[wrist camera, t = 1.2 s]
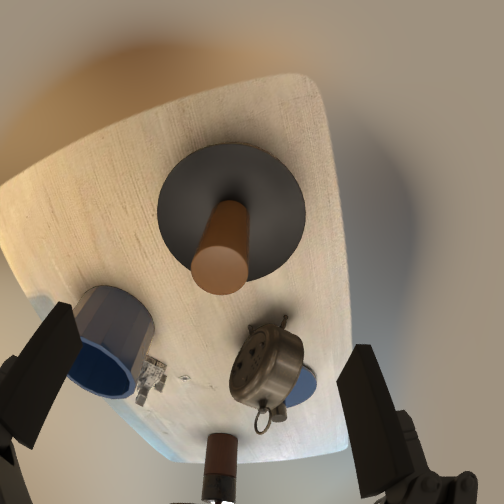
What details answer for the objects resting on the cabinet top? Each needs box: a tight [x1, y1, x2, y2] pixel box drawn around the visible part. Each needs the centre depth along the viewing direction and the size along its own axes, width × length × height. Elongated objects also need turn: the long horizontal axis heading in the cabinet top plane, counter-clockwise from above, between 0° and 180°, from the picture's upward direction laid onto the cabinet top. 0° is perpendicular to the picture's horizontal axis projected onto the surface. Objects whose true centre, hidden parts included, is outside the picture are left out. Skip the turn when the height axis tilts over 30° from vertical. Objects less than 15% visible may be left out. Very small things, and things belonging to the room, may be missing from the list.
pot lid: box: [271, 366, 317, 422], centre depth 43 cm, size 14×14×7 cm
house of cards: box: [136, 356, 191, 407], centre depth 42 cm, size 9×9×8 cm
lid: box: [157, 143, 306, 295], centre depth 22 cm, size 14×14×10 cm
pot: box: [67, 286, 154, 399], centre depth 35 cm, size 13×13×10 cm
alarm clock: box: [229, 315, 304, 435], centre depth 33 cm, size 11×5×16 cm, turn 147°
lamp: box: [171, 433, 238, 504], centre depth 41 cm, size 20×20×35 cm
